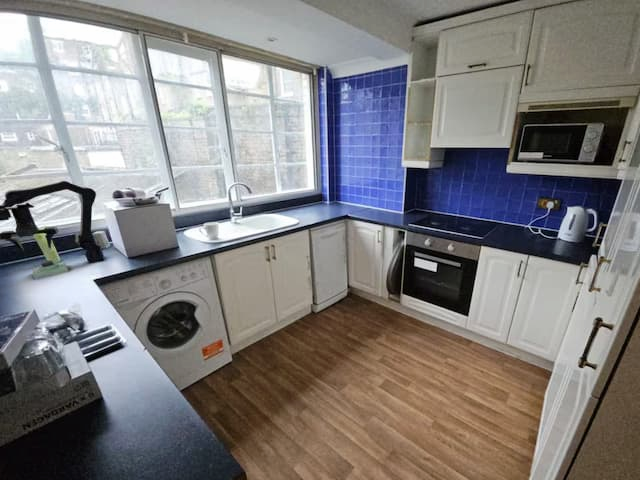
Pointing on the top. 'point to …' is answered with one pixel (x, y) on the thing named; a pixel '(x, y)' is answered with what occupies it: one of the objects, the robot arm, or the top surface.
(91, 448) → the top surface
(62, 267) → the dispenser
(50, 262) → the pump head
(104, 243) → the cosmetics bottle
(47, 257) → the tube
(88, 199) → the robot arm
